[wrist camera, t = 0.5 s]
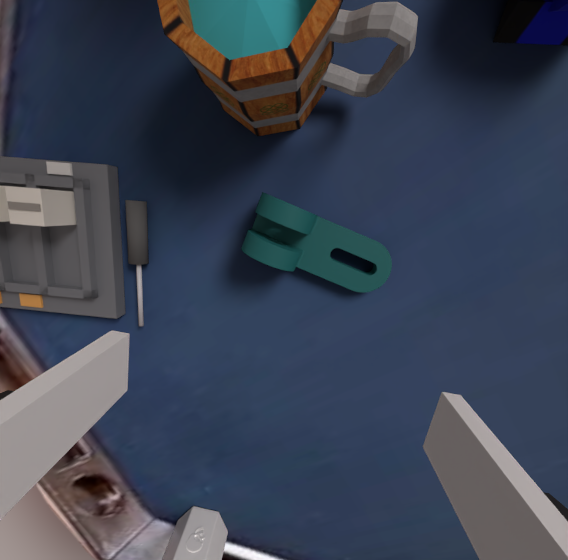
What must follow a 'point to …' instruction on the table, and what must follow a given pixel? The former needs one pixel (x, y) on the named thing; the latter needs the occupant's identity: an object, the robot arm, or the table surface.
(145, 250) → the screwdriver
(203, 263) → the table surface
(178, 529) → the jar
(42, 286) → the switch bank
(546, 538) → the robot arm
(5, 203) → the white grooved block
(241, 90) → the mug
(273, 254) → the bracket
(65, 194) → the small white box
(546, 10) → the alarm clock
